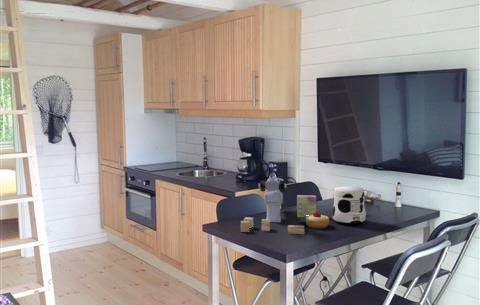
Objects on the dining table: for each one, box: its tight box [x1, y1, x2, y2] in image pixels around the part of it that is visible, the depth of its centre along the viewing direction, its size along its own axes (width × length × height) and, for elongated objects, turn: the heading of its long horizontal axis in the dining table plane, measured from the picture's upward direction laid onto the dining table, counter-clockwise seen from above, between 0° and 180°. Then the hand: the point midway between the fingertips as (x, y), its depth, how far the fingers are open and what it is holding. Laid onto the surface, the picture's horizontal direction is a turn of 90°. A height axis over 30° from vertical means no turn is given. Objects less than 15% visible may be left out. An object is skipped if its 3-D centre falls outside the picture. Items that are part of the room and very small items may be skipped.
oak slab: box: [287, 224, 305, 235], centre depth 218 cm, size 8×8×2 cm
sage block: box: [243, 216, 254, 229], centre depth 225 cm, size 4×4×5 cm
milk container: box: [331, 185, 367, 225], centre depth 234 cm, size 17×17×18 cm
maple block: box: [261, 218, 271, 232], centre depth 221 cm, size 4×4×5 cm
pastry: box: [305, 209, 330, 230], centre depth 227 cm, size 12×12×9 cm
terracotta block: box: [240, 220, 250, 233], centre depth 218 cm, size 4×4×5 cm
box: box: [296, 194, 317, 218], centre depth 248 cm, size 10×6×12 cm, turn 84°
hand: (271, 187), depth 219 cm, fingers open, 7 cm apart
